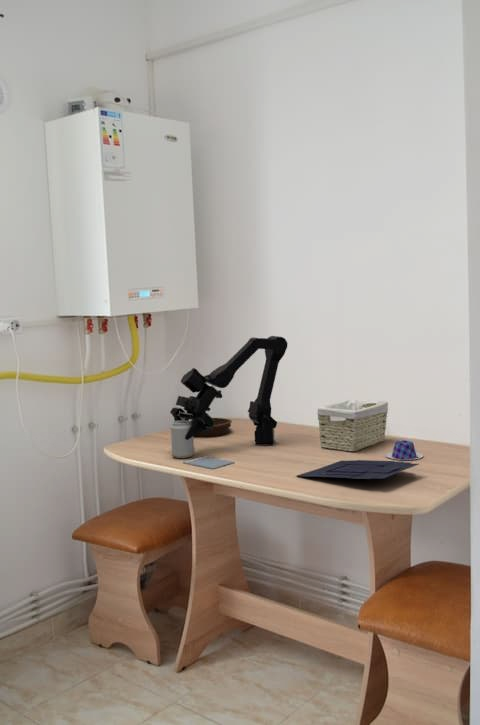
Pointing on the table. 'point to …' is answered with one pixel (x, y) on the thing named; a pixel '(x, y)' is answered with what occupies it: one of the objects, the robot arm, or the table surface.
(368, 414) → the storage basket
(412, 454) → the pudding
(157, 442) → the table surface
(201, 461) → the mat
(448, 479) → the table surface
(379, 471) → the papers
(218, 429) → the dish
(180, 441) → the can
